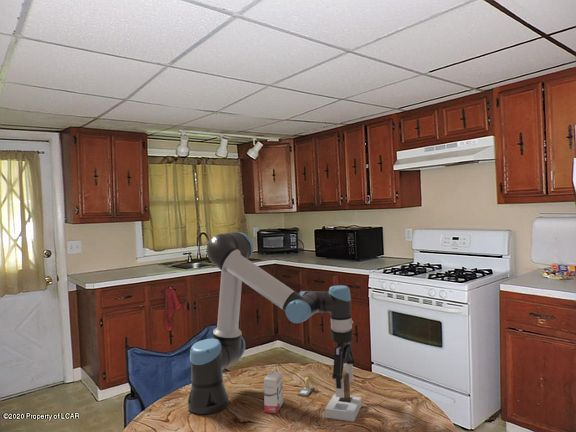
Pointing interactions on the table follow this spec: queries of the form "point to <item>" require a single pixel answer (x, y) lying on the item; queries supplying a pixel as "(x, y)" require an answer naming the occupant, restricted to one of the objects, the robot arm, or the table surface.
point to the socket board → (343, 408)
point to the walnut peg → (346, 388)
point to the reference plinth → (306, 388)
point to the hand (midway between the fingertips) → (345, 388)
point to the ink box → (273, 392)
